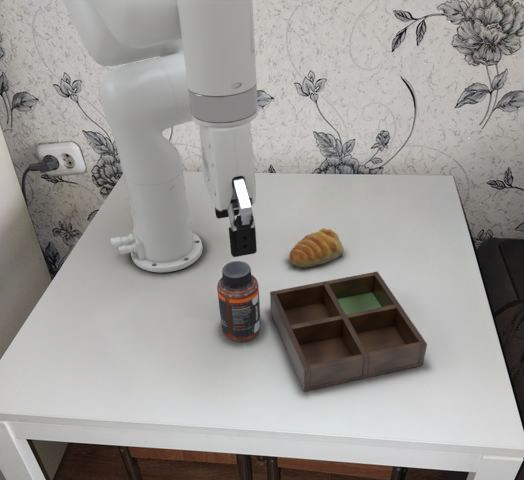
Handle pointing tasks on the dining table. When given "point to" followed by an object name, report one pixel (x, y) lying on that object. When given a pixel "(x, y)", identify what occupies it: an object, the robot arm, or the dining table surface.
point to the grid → (345, 330)
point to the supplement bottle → (239, 302)
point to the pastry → (316, 249)
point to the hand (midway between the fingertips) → (235, 234)
